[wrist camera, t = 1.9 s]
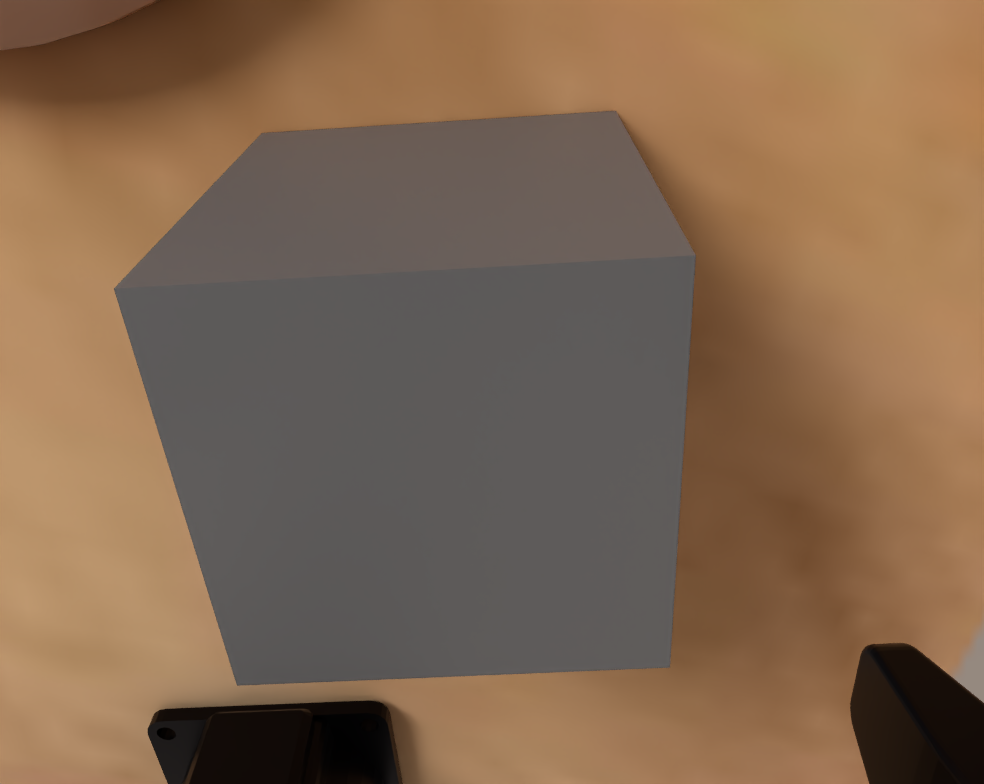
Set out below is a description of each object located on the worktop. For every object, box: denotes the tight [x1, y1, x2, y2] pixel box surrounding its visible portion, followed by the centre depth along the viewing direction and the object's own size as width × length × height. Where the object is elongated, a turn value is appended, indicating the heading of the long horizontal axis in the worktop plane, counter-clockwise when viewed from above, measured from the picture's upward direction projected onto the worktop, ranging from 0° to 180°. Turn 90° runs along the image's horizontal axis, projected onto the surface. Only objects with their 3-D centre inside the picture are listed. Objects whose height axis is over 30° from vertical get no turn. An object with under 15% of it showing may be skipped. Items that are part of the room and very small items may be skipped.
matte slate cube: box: [114, 111, 696, 685], centre depth 14 cm, size 6×6×7 cm
